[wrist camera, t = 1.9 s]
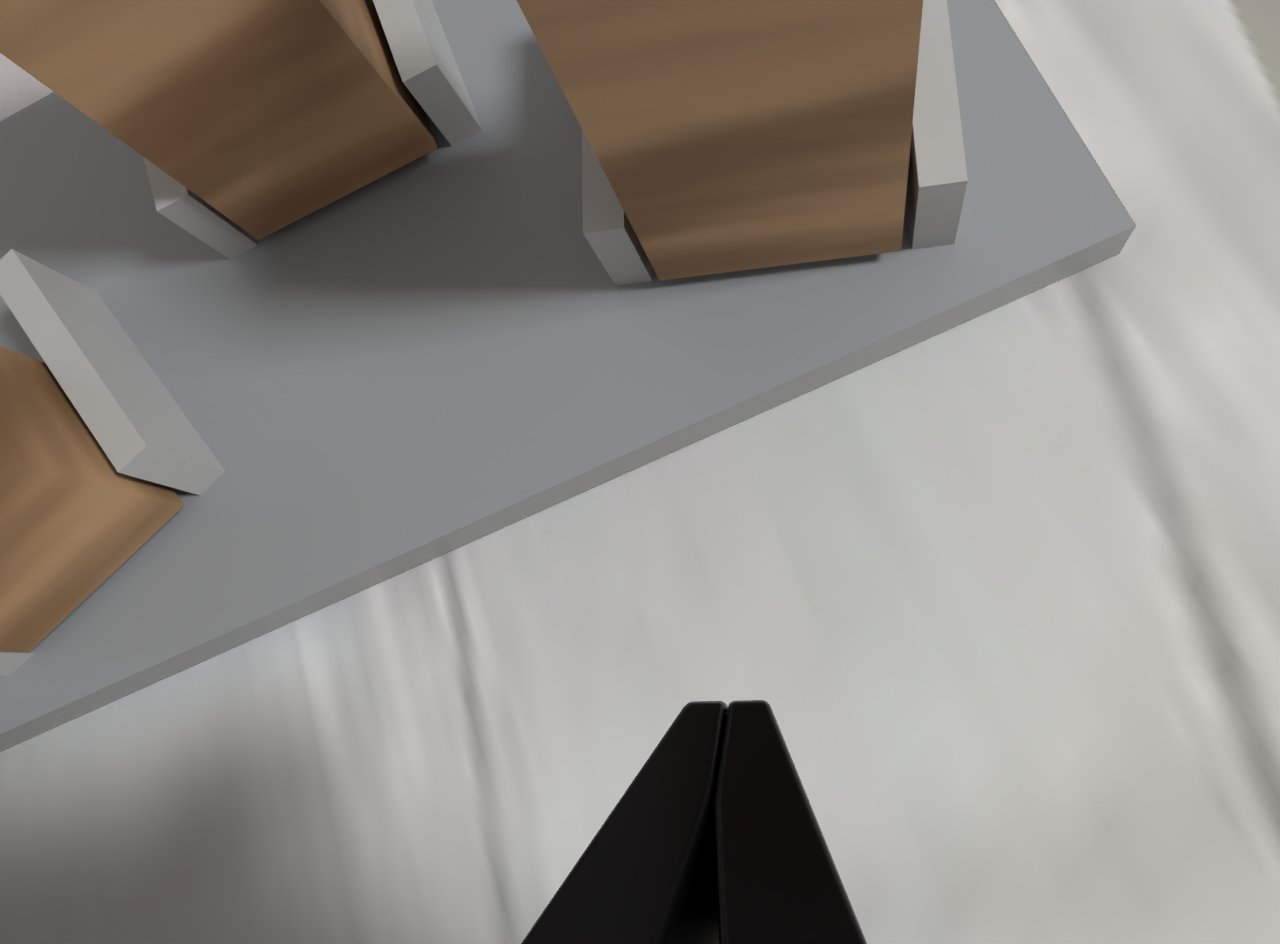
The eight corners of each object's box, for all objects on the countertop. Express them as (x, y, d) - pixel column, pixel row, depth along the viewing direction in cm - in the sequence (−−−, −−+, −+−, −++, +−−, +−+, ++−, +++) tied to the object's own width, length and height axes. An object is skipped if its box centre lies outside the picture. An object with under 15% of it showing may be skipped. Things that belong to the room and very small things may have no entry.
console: (1119, 253, 23) (1177, 156, 19) (-43, 770, 28) (-208, 787, 23) (797, -269, 29) (785, -435, 24) (-119, 231, 33) (-262, 165, 29)
